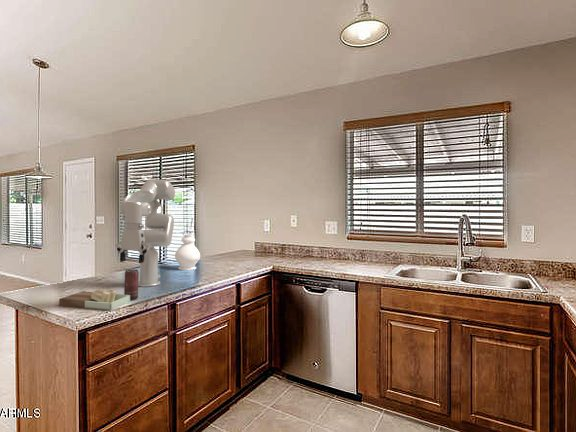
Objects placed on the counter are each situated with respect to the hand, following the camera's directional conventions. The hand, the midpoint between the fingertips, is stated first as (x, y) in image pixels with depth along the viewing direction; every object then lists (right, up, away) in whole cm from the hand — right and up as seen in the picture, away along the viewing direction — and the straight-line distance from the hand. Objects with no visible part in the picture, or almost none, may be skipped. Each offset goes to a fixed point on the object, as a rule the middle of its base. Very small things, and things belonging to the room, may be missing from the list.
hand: (132, 262), depth 162 cm
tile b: (-8, -15, -9) cm, 19 cm away
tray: (-7, -18, -9) cm, 21 cm away
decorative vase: (+2, -16, +82) cm, 84 cm away
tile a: (-11, -16, -9) cm, 21 cm away
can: (-1, -18, +1) cm, 18 cm away
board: (-19, -18, -8) cm, 27 cm away
